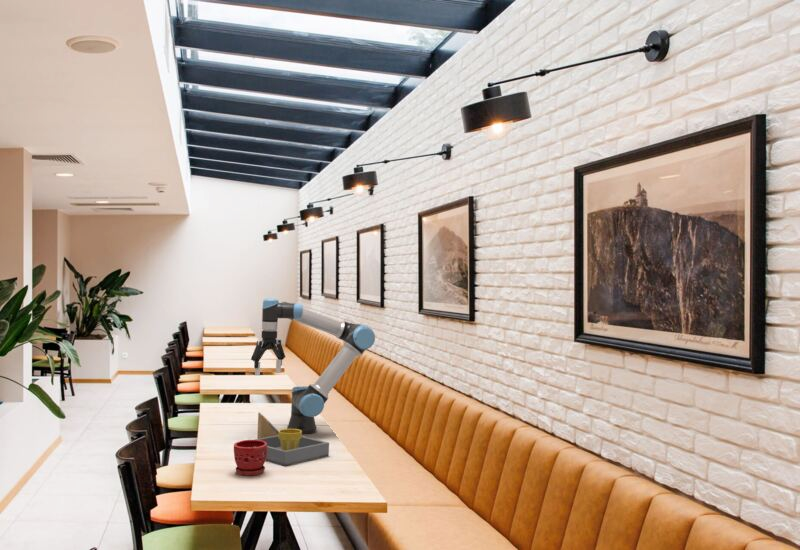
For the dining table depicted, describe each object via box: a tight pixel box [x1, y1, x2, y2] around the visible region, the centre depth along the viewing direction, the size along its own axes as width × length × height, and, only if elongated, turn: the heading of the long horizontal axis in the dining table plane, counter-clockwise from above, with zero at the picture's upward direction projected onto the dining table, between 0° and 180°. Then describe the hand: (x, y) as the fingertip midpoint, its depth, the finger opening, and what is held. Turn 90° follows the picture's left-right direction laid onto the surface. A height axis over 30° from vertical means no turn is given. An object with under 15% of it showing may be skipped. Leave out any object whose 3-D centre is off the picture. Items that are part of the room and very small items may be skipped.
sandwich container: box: [256, 411, 279, 439], centre depth 338 cm, size 9×15×15 cm, turn 111°
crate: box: [248, 435, 330, 467], centre depth 318 cm, size 26×26×6 cm
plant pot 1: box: [233, 439, 267, 476], centre depth 287 cm, size 13×13×12 cm
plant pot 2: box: [278, 428, 303, 451], centre depth 319 cm, size 10×10×10 cm
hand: (267, 373), depth 350 cm, fingers open, 13 cm apart
